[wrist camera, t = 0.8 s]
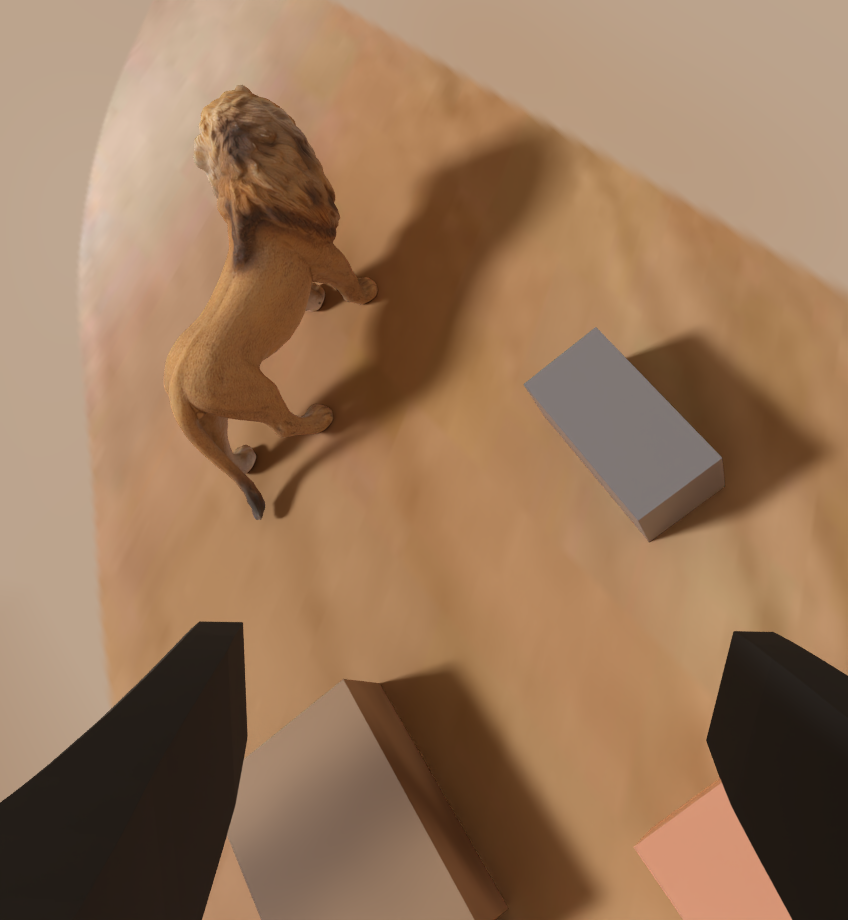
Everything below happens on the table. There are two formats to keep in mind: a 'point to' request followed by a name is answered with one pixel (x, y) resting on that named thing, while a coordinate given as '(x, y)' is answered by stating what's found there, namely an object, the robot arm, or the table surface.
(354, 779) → the walnut block
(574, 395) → the gray brick
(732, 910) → the terracotta brick
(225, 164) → the lion figurine
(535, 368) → the table surface
